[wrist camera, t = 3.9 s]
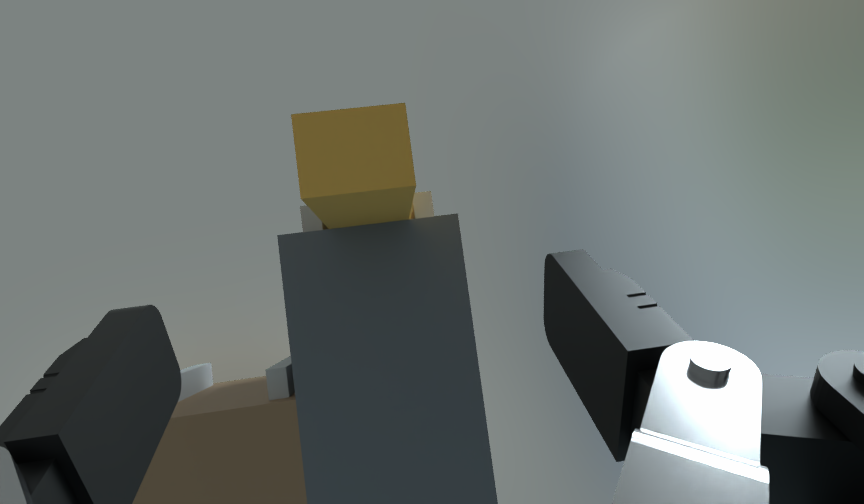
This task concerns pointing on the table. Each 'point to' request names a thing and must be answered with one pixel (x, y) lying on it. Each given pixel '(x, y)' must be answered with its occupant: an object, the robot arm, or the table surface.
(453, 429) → the grey and brown cartons
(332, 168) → the tan rectangular bar
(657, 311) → the robot arm
